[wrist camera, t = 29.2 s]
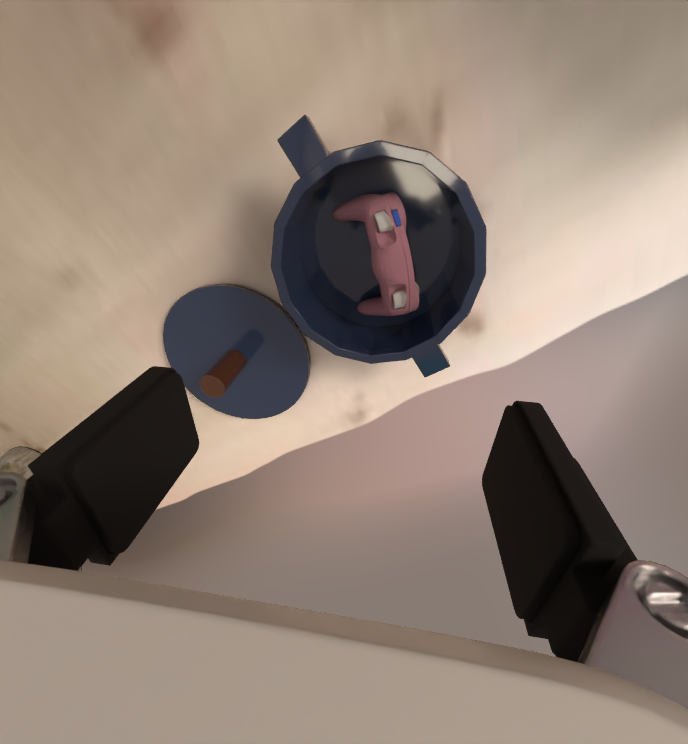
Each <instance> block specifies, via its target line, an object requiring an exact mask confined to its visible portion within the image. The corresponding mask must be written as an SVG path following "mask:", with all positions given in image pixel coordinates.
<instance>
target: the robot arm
mask: <svg viewBox="0 0 688 744" xmlns="http://www.w3.org/2000/svg"><path fill="white" fill-rule="evenodd" d="M198 447H199V439H198V435H197V431H196V428H195V424H194V420H193V417H192V413H191V409H190V405H189V402H188V398H187V394H186V391H185V387H184V383H183V380H182V377H181V375H180V374H178V373H177V371H176V370H175V369H173V368H167V367H156V366H154V367H151V368H149V369H148V370H147V371H145V372H144V373H143V374H142V375H140V376H139V377H138V378H137V379H135V380H134V381H133V382H132V383H130V384H129V385H128V386H127V387H125V388H124V389H123V390H122V391H120V392H119V393H118V394H117V395H115V396H114V397H113V398H111V399H110V400H109V401H108V402H106V403H105V404H104V405H103V406H101V407H100V408H99V409H98V410H96V411H95V412H94V413H93V414H91V415H90V416H89V417H88V418H86V419H85V420H84V421H83V422H81V423H80V424H79V425H78V426H76V427H75V428H74V429H73V430H71V431H70V432H69V433H67V434H66V435H65V436H64V437H62V438H61V439H60V440H59V441H57V442H56V443H55V444H54V445H52V446H51V447H50V448H49V449H47V450H46V451H45V452H44V453H42V454H41V455H40V456H39V457H37V458H36V459H35V460H34V461H32V462H31V463H30V464H29V465H27V466H28V467H29V469H30V470H31V472H32V473H33V475H32V476H31V477H30V478H28V479H27V480H26V479H25V477H23V476H22V475H21V474H19V473H15V472H3V473H0V744H688V578H687V577H686V576H684V575H683V574H681V573H679V572H677V571H675V570H673V569H671V568H669V567H667V566H665V565H661V564H658V563H656V562H652V561H642V560H637V558H636V557H635V555H634V553H633V552H632V550H631V549H630V547H629V545H628V544H627V542H626V540H625V539H624V537H623V535H622V534H621V532H620V530H619V529H618V527H617V526H616V524H615V522H614V520H613V519H612V517H611V516H610V514H609V512H608V511H607V509H606V507H605V506H604V504H603V502H602V501H601V499H600V497H599V496H598V494H597V492H596V491H595V489H594V488H593V486H592V485H591V483H590V481H589V479H588V478H587V476H586V474H585V473H584V471H583V469H582V468H581V466H580V464H579V463H578V462H577V461H576V459H575V458H573V457H572V455H571V453H570V452H569V450H568V448H567V447H566V445H565V443H564V442H563V440H562V438H561V437H560V435H559V433H558V432H557V430H556V428H555V427H554V425H553V423H552V422H551V420H550V418H549V416H548V415H547V413H546V411H545V410H544V408H543V406H542V405H541V404H540V403H534V402H523V401H515V402H514V403H513V405H512V406H509V405H508V406H507V407H506V408H505V410H504V413H503V416H502V420H501V422H500V425H499V428H498V431H497V434H496V437H495V440H494V443H493V446H492V449H491V452H490V455H489V458H488V461H487V464H486V467H485V470H484V473H483V477H482V486H483V491H484V495H485V499H486V502H487V506H488V510H489V514H490V517H491V522H492V526H493V529H494V533H495V537H496V541H497V544H498V549H499V553H500V556H501V560H502V564H503V568H504V572H505V576H506V579H507V583H508V587H509V591H510V595H511V599H512V602H513V607H514V610H515V613H516V615H517V616H518V617H519V618H521V619H524V622H525V625H526V629H527V632H528V635H529V636H533V637H539V638H545V639H548V640H549V643H550V647H551V650H552V652H553V653H554V654H555V655H556V657H553V656H549V655H546V654H541V653H537V652H533V651H528V650H523V649H517V648H513V647H508V646H503V645H497V644H492V643H487V642H482V641H477V640H472V639H466V638H461V637H457V636H451V635H446V634H441V633H435V632H429V631H424V630H418V629H413V628H407V627H401V626H396V625H390V624H384V623H379V622H373V621H368V620H362V619H356V618H351V617H345V616H339V615H334V614H328V613H322V612H317V611H311V610H304V609H299V608H293V607H288V606H282V605H276V604H270V603H264V602H259V601H253V600H247V599H241V598H235V597H229V596H224V595H218V594H212V593H206V592H200V591H194V590H188V589H182V588H176V587H171V586H165V585H159V584H152V583H147V582H141V581H134V580H129V579H123V578H117V577H110V576H105V575H99V574H93V573H87V572H82V565H83V564H84V562H85V561H86V560H87V558H88V559H89V560H90V562H93V563H98V564H104V565H111V563H113V561H114V560H115V558H116V557H117V556H118V554H119V553H122V552H124V551H125V550H126V549H127V548H128V547H129V545H130V544H131V543H132V541H133V540H134V539H135V537H136V536H137V534H138V533H139V532H140V530H141V529H142V527H143V526H144V525H145V523H146V522H147V520H148V519H149V518H150V516H151V515H152V514H153V512H154V511H155V509H156V508H157V507H158V505H159V504H160V502H161V501H162V500H163V498H164V497H165V495H166V494H167V493H168V491H169V490H170V489H171V487H172V486H173V484H174V483H175V482H176V480H177V479H178V477H179V476H180V475H181V473H182V472H183V470H184V469H185V468H186V466H187V465H188V463H189V462H190V461H191V459H192V458H193V457H194V455H195V454H196V452H197V450H198Z"/></svg>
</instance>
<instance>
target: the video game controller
mask: <svg viewBox="0 0 688 744" xmlns="http://www.w3.org/2000/svg"><path fill="white" fill-rule="evenodd" d="M332 217H333V218H335V219H336V220H339V221H362V222H364V223H365V226H366V230H367V235H368V239H369V242H370V246H371V263H372V269H373V272H374V274H375V277H376V279H377V280H378V282H379V285H380V290H381V296H380V297H375V298H370V299H367V300H364V301H362V302H361V303H359V304H358V306H357V309H358V311H359V312H360V313H362V314H364V315H374V316H396V315H405V314H407V313H410V312H412V311H415V310H417V308H418V305H419V286H418V284H417V283H416V282H415V278H414V270H413V263H412V257H411V252H410V247H409V243H408V239H407V235H406V214H405V210H404V207H403V204H402V202H401V200H400V198H399V197H398V195H397V194H396V193H394V192H389V193H385V194H382V195H380V194H367V195H362V196H359V197H356V198H353V199H351V200H349V201H346V202H344V203H342V204H340V205H339V206H337V207H336V208H335V209H334V210H333V212H332Z"/></svg>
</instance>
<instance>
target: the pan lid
mask: <svg viewBox="0 0 688 744" xmlns="http://www.w3.org/2000/svg"><path fill="white" fill-rule="evenodd" d="M163 341H164V348H165V352H166V355H167V359H168V361H169V363H170V366H171V368H173V369H175V370H176V371H177V373H178V374H180V375H181V377H182V380H183V383H184V386H185V387H186V388H187V389H188V390H189V391H190V392H191V393H192V394H193V395H194V396H195V397H197V398H198V399H199V400H200V401H202V402H203V403H205V404H206V405H208V406H210V407H212V408H214V409H215V410H217V411H220V412H222V413H225V414H228V415H231V416H235V417H240V418H247V419H261V418H268V417H272V416H275V415H278V414H280V413H282V412H284V411H286V410H287V409H289V408H290V407H291V406H293V405H294V404H295V403H296V402H297V401H298V399H299V398H300V397H301V395H302V394H303V392H304V390H305V387H306V385H307V382H308V378H309V372H310V361H309V355H308V350H307V347H306V344H305V341H304V339H303V337H302V335H301V333H300V331H299V330H298V328H297V327H296V325H295V324H294V322H293V321H292V320H291V319H290V317H289V316H288V315H287V314H286V313H285V312H284V311H283V310H282V309H281V308H280V307H278V306H277V305H276V304H274V303H273V302H272V301H270V300H269V299H267V298H265V297H264V296H262V295H260V294H258V293H256V292H254V291H251V290H249V289H246V288H242V287H239V286H233V285H225V284H215V285H207V286H203V287H199V288H197V289H194V290H192V291H190V292H188V293H187V294H185V295H184V296H182V297H181V298H180V299H179V300H178V301H177V302H176V303H175V304H174V305H173V307H172V308H171V309H170V311H169V313H168V315H167V317H166V321H165V324H164V331H163Z"/></svg>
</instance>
